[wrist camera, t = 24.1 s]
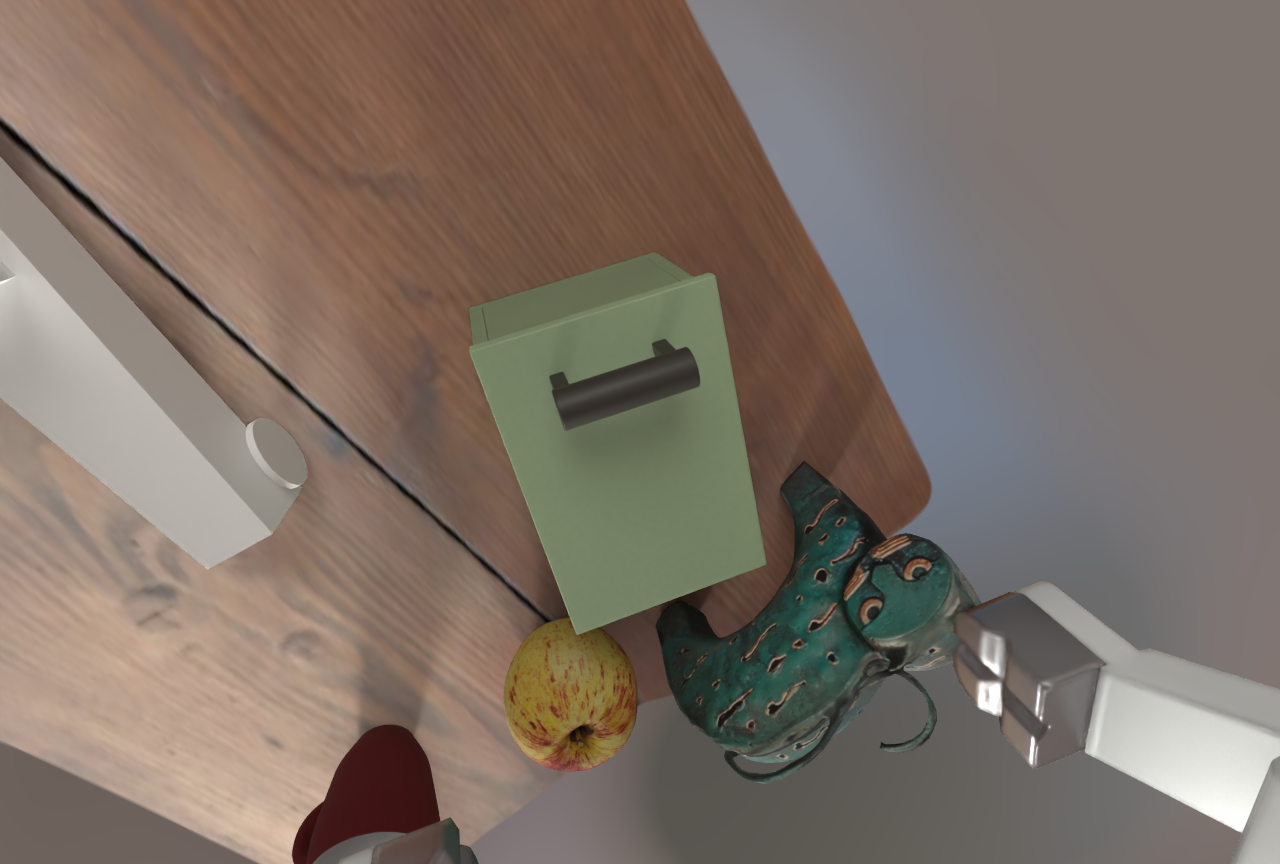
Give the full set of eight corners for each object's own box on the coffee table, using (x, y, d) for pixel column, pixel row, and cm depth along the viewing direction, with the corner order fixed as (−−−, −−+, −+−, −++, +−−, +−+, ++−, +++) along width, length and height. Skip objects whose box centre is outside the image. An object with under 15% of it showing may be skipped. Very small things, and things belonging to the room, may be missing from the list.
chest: (468, 307, 38) (474, 362, 30) (655, 251, 40) (712, 288, 31) (550, 531, 46) (574, 625, 38) (704, 477, 48) (761, 556, 39)
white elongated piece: (-217, 105, 28) (-487, 101, 20) (-65, 26, 28) (-271, -11, 20) (216, 524, 40) (159, 626, 32) (320, 467, 40) (289, 554, 32)
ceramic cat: (811, 435, 49) (1016, 613, 31) (859, 479, 52) (1072, 665, 34) (632, 621, 52) (728, 879, 34) (688, 653, 55) (802, 905, 37)
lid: (468, 346, 29) (472, 385, 25) (709, 271, 31) (753, 296, 27) (574, 626, 38) (591, 692, 33) (761, 556, 39) (801, 611, 35)
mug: (357, 813, 53) (339, 952, 44) (276, 767, 49) (239, 910, 40) (463, 738, 52) (466, 863, 43) (390, 686, 48) (378, 812, 39)
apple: (509, 698, 52) (522, 816, 43) (488, 609, 48) (498, 719, 39) (622, 668, 53) (656, 776, 45) (611, 580, 49) (646, 680, 41)
